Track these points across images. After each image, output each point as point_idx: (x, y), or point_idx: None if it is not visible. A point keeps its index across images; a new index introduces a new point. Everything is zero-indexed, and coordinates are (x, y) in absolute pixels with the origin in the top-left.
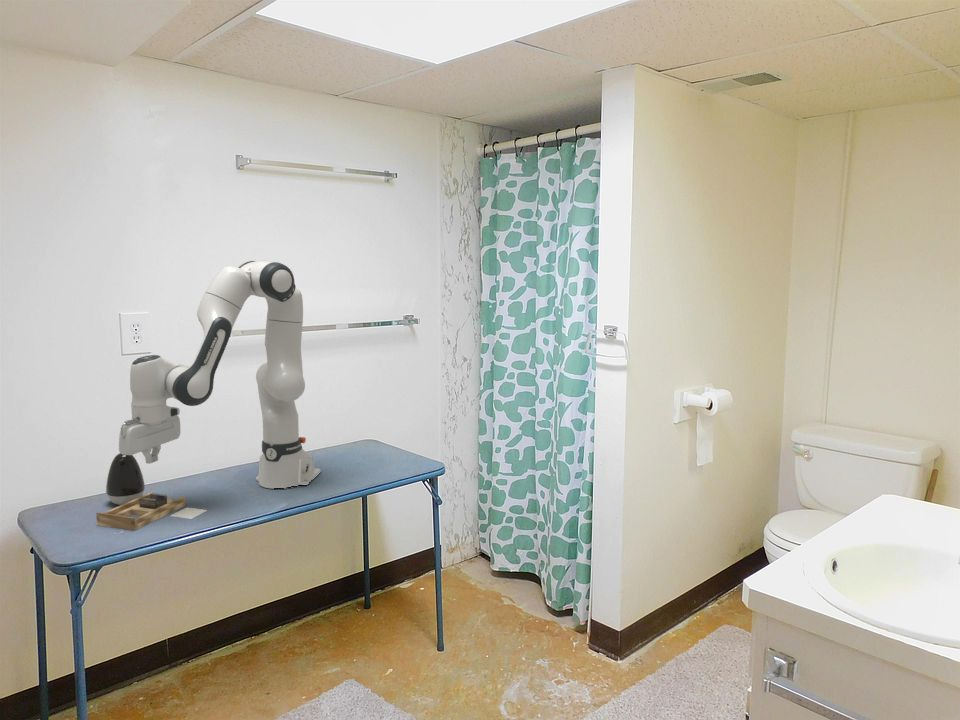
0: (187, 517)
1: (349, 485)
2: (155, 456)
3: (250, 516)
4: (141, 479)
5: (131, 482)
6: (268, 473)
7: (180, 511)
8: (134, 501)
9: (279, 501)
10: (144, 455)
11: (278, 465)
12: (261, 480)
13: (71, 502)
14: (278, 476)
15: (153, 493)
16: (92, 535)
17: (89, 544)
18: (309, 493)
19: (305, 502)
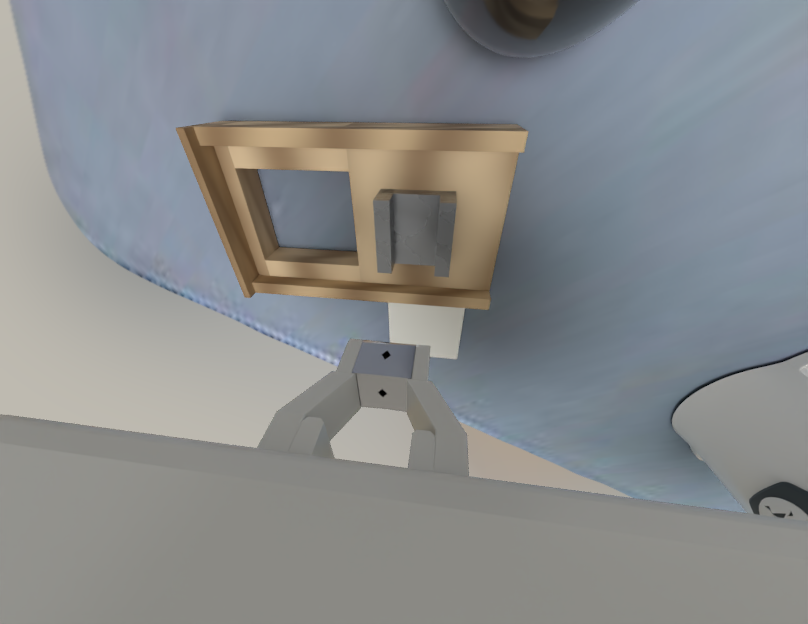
0: (395, 342)
1: (679, 496)
2: (396, 407)
3: (465, 417)
4: (587, 29)
5: (488, 20)
6: (731, 438)
7: (428, 306)
8: (390, 149)
9: (568, 434)
10: (315, 389)
11: (736, 486)
12: (738, 393)
13: None
14: (705, 449)
15: (451, 215)
16: None
17: (157, 201)
18: (627, 461)
19: (562, 463)
